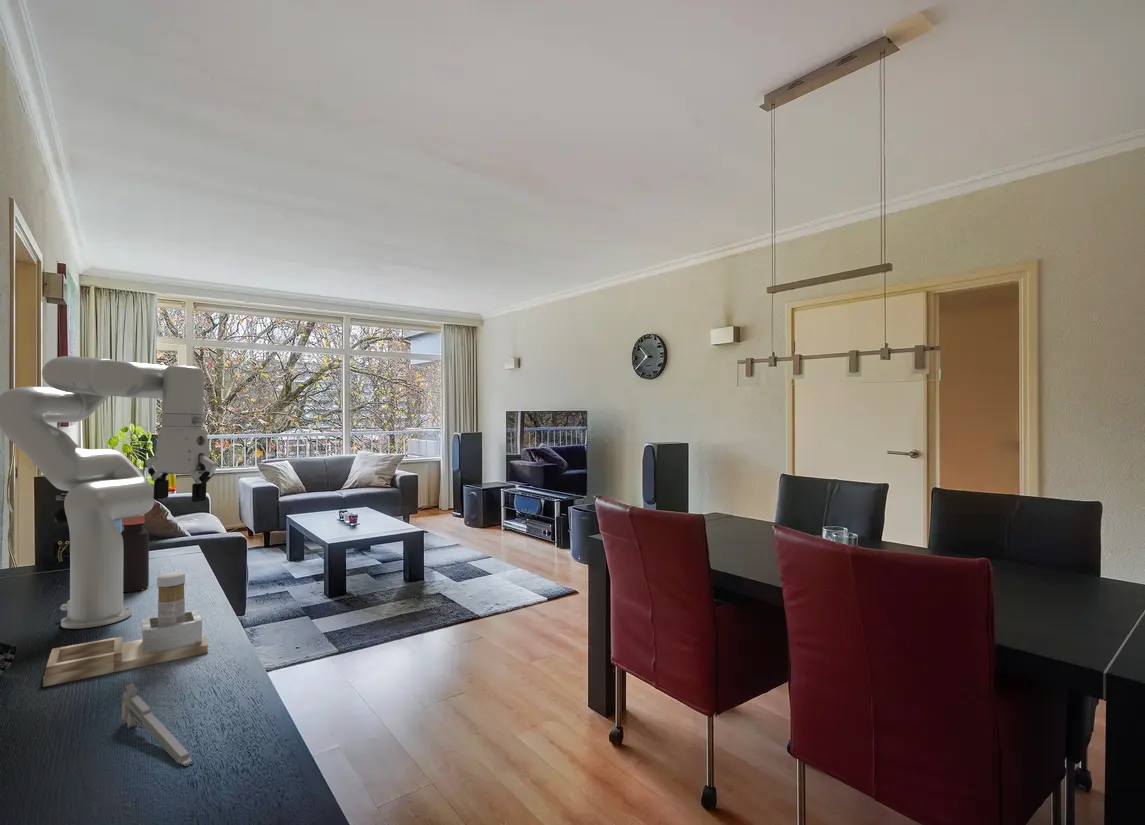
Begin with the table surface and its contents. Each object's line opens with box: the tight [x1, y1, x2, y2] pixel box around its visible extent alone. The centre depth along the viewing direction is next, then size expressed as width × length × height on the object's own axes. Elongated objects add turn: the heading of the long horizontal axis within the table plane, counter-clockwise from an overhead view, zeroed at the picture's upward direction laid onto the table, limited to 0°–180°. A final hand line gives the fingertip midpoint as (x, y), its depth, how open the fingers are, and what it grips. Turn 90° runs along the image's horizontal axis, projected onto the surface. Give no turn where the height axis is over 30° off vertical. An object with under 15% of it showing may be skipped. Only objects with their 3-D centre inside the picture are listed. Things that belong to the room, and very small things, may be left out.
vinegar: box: [120, 514, 150, 593], centre depth 160 cm, size 7×7×20 cm
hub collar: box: [141, 609, 203, 655], centre depth 117 cm, size 9×9×4 cm
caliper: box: [121, 683, 193, 765], centre depth 83 cm, size 20×1×6 cm, turn 56°
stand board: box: [42, 630, 209, 688], centre depth 113 cm, size 24×12×3 cm, turn 127°
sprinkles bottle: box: [156, 571, 186, 627], centre depth 117 cm, size 5×5×14 cm
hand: (179, 500), depth 130 cm, fingers open, 9 cm apart
